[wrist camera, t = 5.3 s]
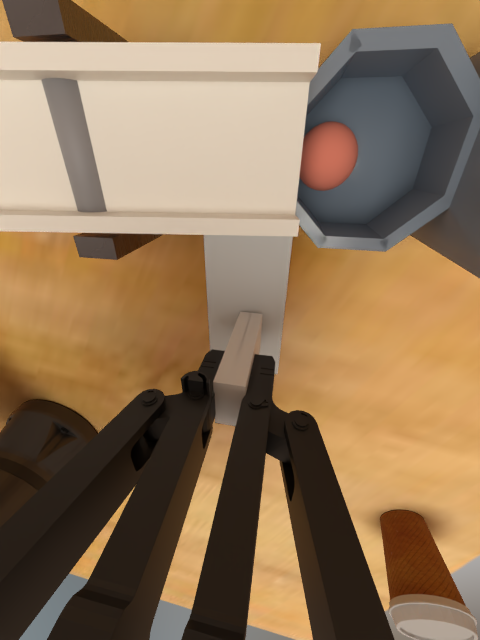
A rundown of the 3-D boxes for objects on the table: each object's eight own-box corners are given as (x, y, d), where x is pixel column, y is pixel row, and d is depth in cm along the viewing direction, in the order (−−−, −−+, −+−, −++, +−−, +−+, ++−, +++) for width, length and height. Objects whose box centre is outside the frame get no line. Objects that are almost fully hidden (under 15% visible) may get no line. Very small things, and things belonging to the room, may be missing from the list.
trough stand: (142, 224, 25) (54, 259, 16) (116, 69, 20) (-43, -15, 10) (203, 227, 24) (147, 266, 15) (194, 66, 19) (96, -29, 10)
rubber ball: (362, 193, 18) (332, 188, 21) (379, 118, 16) (342, 126, 19) (307, 193, 17) (284, 188, 20) (316, 115, 15) (290, 124, 18)
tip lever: (6, 353, 22) (-34, 384, 19) (-153, 60, 13) (-282, 27, 10) (275, 360, 21) (280, 393, 18) (306, 62, 12) (325, 30, 9)
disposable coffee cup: (396, 496, 40) (431, 612, 29) (451, 520, 40) (504, 641, 30) (356, 519, 45) (375, 625, 34) (406, 540, 45) (438, 650, 35)
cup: (276, 228, 23) (252, 318, 10) (289, 66, 18) (274, -230, 4) (418, 235, 22) (623, 355, 8) (478, 59, 16) (1376, -446, 3)
